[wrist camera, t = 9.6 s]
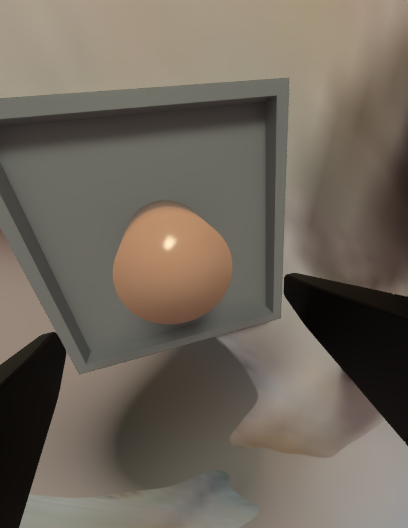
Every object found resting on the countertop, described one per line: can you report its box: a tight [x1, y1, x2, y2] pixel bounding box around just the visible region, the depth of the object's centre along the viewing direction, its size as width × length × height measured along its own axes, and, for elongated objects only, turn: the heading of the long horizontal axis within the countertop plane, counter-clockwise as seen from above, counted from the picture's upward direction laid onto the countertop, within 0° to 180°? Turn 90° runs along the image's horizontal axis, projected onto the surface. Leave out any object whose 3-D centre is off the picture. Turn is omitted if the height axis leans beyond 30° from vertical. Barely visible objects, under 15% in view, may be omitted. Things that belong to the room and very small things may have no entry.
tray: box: [0, 78, 289, 374], centre depth 16 cm, size 18×18×2 cm
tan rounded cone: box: [113, 200, 233, 324], centre depth 13 cm, size 6×6×6 cm
